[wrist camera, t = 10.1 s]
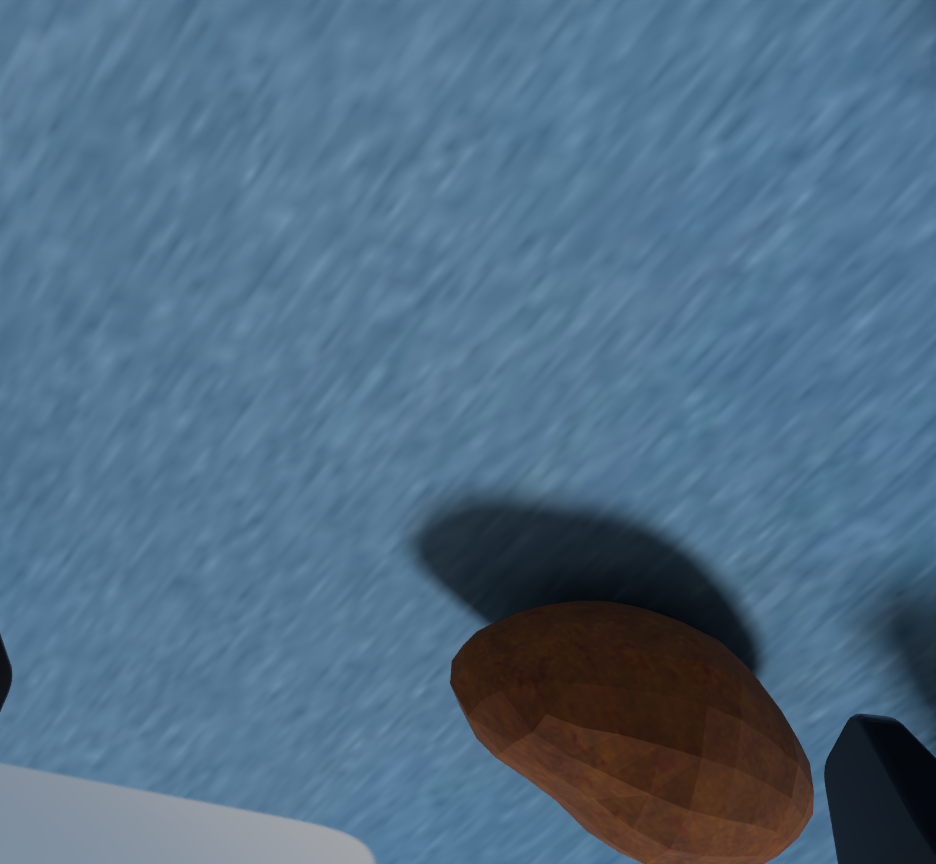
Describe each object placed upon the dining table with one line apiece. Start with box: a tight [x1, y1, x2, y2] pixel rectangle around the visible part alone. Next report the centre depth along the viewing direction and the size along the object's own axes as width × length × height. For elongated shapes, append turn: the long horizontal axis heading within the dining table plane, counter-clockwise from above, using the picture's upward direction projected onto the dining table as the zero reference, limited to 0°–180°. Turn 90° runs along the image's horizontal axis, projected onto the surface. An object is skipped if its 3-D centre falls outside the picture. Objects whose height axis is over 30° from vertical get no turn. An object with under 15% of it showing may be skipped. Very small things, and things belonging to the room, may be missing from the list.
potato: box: [450, 601, 814, 864], centre depth 22 cm, size 6×12×6 cm, turn 66°
